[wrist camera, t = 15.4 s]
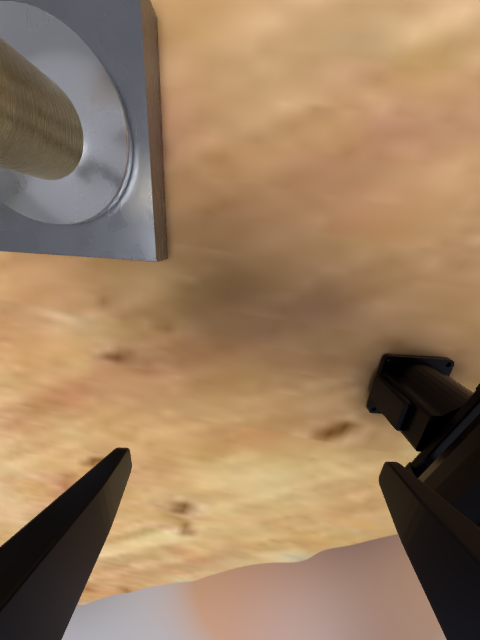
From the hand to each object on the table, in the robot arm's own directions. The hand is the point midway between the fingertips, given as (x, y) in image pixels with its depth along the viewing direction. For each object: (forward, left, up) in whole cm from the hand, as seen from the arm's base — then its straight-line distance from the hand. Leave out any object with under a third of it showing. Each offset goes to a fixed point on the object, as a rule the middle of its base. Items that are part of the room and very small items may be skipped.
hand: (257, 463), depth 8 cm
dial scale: (+14, -13, -13) cm, 23 cm away
